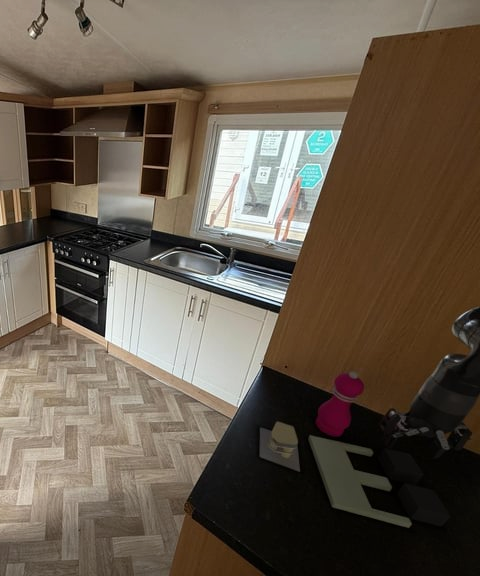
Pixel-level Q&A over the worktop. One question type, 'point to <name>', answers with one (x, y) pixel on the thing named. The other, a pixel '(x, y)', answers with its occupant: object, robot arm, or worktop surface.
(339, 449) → the pale green e-shaped block
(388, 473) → the dark charcoal cube
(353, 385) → the pepper mill
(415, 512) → the black block
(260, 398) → the worktop surface
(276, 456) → the stacked layers on plate
